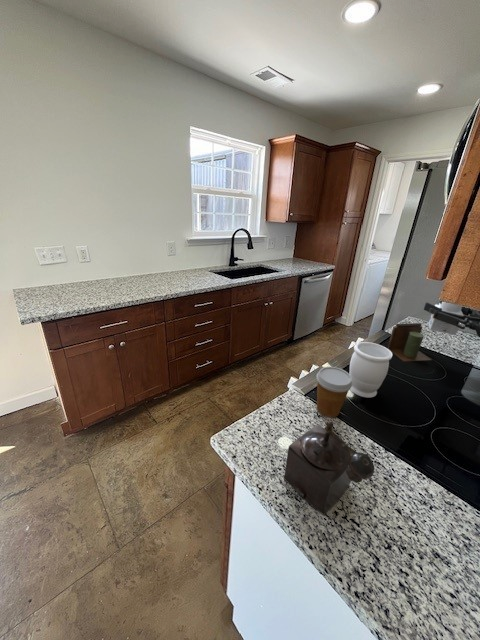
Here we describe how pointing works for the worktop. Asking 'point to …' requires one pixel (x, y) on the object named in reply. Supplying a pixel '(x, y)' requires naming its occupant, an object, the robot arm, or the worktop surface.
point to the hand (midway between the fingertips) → (439, 305)
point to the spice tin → (413, 344)
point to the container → (443, 326)
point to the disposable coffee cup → (332, 390)
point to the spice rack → (404, 341)
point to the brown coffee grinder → (324, 467)
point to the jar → (368, 368)
